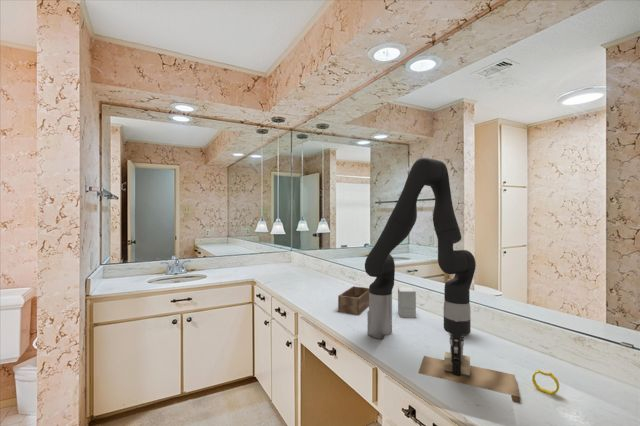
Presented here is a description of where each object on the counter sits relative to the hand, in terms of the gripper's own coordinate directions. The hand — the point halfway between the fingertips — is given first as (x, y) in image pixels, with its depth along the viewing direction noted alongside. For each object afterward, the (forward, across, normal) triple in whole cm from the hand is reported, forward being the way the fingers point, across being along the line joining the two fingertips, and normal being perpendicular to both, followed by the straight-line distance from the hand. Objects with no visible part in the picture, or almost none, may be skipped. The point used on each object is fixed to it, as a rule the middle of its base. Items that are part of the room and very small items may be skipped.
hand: (456, 371), depth 92 cm
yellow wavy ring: (+2, -3, +22) cm, 23 cm away
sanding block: (0, 0, 0) cm, 0 cm away
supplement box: (+2, -48, -24) cm, 54 cm away
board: (+2, 0, +2) cm, 3 cm away
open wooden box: (+1, -48, -50) cm, 70 cm away
